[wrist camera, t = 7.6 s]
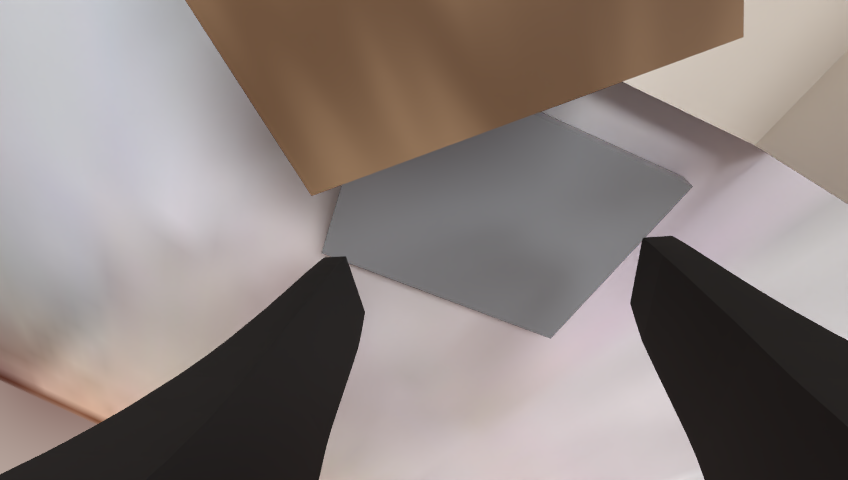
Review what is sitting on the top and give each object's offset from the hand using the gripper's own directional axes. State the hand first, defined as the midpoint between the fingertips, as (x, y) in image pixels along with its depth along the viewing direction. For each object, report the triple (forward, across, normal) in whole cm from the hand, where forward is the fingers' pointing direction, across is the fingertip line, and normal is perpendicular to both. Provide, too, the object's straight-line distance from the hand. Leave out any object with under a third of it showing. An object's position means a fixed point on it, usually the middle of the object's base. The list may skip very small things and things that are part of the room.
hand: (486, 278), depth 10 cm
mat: (+3, 0, 0) cm, 3 cm away
